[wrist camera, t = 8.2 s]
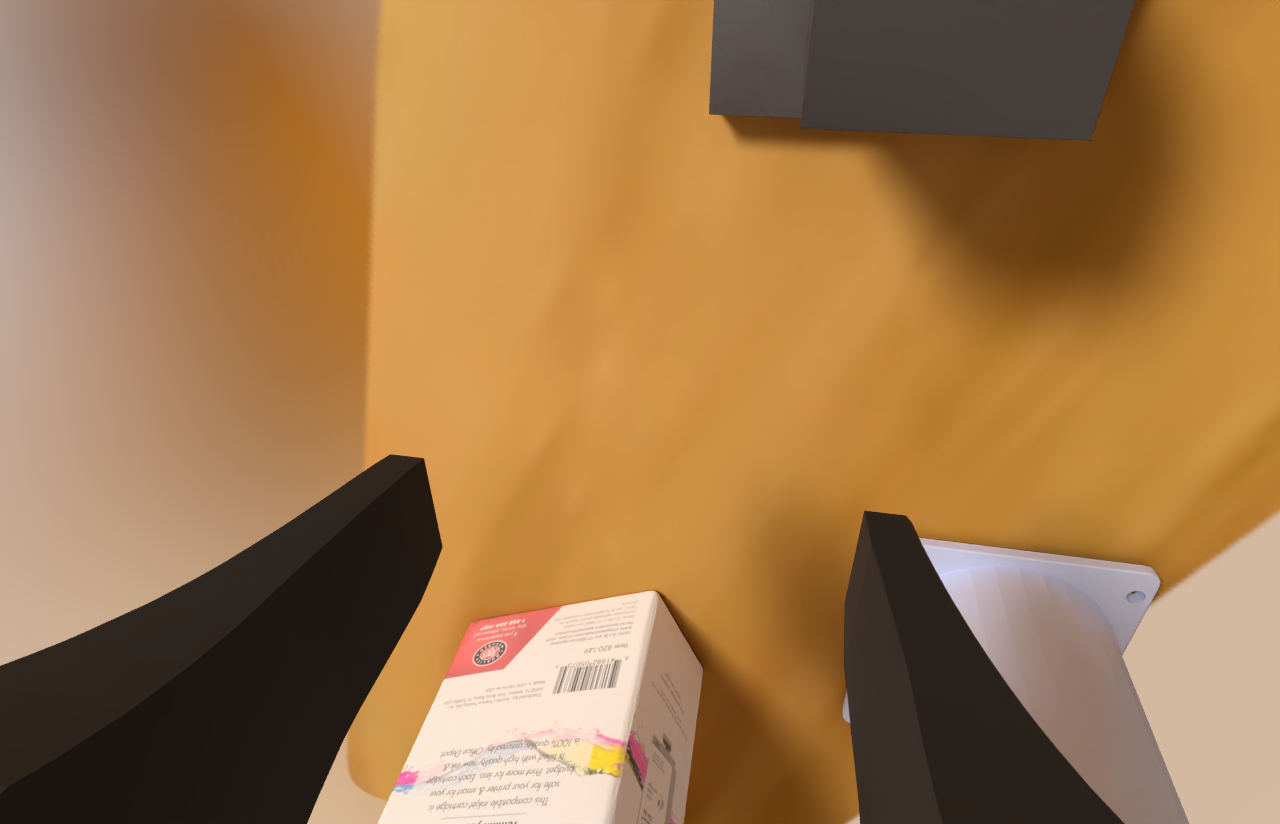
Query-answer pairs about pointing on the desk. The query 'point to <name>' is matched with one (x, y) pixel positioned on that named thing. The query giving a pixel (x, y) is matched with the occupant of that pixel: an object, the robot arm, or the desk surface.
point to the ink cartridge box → (559, 721)
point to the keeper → (758, 57)
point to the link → (961, 66)
